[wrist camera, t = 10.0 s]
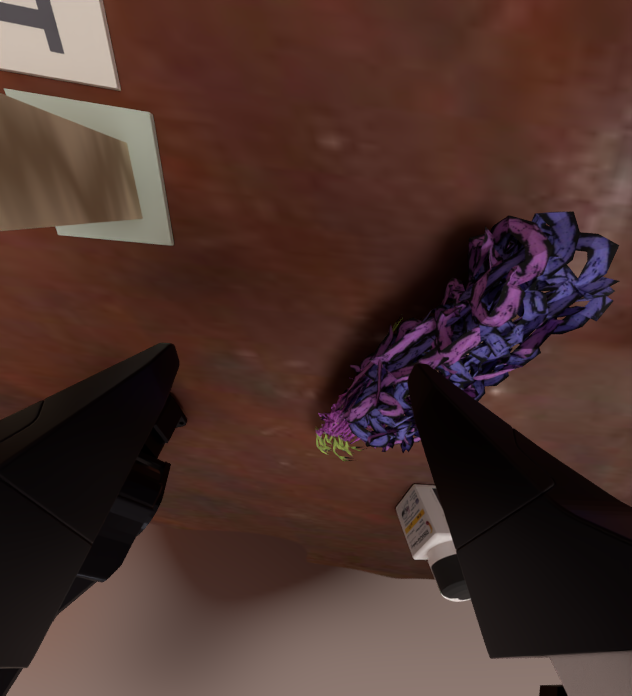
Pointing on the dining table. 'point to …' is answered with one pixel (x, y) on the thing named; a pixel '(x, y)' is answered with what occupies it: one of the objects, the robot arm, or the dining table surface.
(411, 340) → the decorative ornament
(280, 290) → the dining table surface
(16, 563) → the robot arm
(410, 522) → the container
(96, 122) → the felt pad
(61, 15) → the tile
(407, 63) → the dining table surface
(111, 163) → the pillar
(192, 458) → the dining table surface
